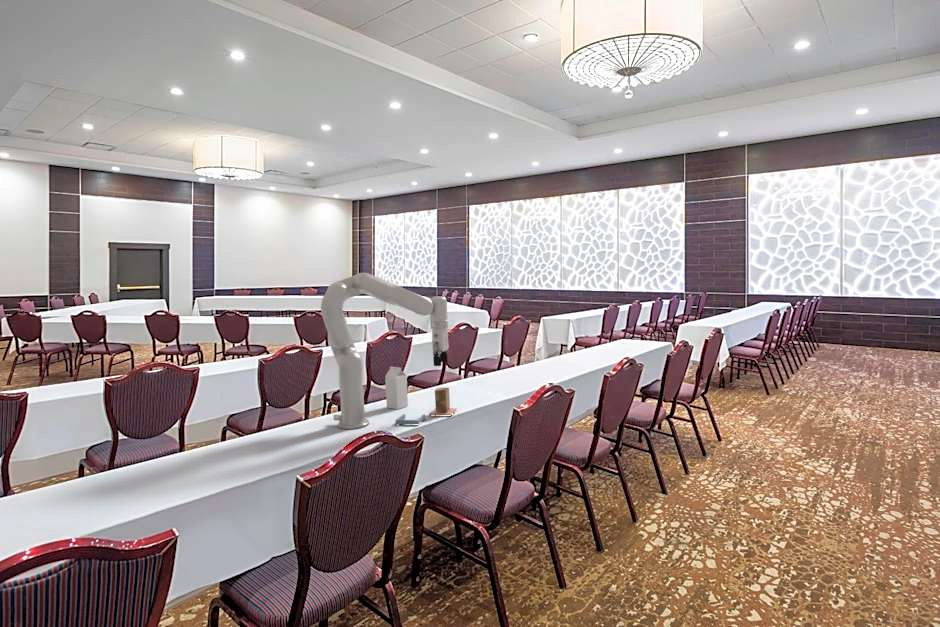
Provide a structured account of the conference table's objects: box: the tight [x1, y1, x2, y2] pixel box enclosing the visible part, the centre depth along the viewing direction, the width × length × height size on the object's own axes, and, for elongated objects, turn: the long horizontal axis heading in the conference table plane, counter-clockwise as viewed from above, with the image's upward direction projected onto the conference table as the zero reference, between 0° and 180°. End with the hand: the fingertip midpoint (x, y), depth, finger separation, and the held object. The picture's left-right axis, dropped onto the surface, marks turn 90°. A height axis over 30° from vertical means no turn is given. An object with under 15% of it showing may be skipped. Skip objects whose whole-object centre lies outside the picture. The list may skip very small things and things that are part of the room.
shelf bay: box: [395, 414, 426, 425], centre depth 227 cm, size 10×9×2 cm
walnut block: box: [434, 387, 451, 413], centre depth 238 cm, size 5×5×10 cm
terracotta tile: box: [428, 407, 458, 416], centre depth 239 cm, size 10×10×1 cm
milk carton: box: [384, 366, 409, 410], centre depth 252 cm, size 7×7×19 cm
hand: (440, 363), depth 237 cm, fingers open, 9 cm apart
